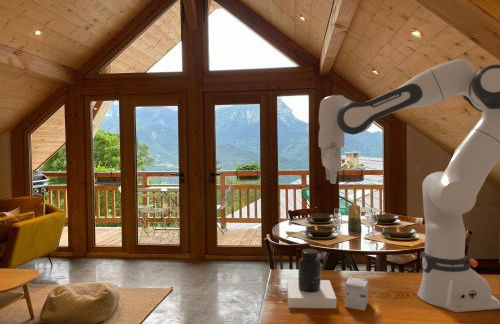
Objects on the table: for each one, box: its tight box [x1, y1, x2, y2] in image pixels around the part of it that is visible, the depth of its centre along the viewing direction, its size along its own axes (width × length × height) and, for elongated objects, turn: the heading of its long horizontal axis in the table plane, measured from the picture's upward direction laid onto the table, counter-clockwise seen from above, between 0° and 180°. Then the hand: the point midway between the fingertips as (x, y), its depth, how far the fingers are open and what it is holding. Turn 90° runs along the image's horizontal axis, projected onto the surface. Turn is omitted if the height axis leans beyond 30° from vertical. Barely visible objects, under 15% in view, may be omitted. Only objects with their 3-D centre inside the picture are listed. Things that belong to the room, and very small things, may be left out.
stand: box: [286, 279, 338, 309], centre depth 124 cm, size 14×14×3 cm
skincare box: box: [344, 276, 370, 311], centre depth 119 cm, size 6×6×7 cm
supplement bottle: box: [297, 248, 322, 292], centre depth 124 cm, size 7×7×12 cm
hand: (331, 181), depth 140 cm, fingers open, 8 cm apart
